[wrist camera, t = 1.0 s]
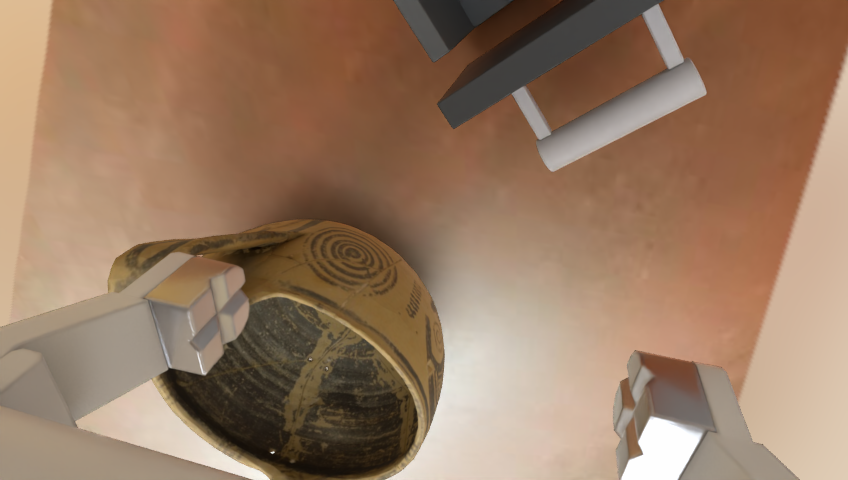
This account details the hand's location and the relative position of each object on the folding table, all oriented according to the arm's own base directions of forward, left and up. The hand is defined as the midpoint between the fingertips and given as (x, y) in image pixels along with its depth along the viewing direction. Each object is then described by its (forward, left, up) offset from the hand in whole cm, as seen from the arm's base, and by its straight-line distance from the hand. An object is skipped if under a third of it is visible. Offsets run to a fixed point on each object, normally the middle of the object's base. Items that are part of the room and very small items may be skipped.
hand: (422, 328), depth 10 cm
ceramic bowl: (+17, +6, -20) cm, 26 cm away
